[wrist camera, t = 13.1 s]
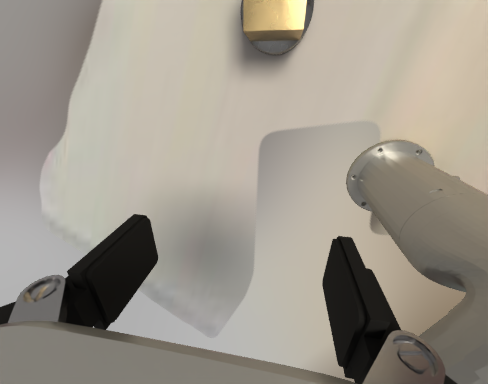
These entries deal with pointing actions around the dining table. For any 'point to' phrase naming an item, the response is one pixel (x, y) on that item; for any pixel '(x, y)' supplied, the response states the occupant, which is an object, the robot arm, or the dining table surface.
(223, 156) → the dining table surface
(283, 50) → the ratchet
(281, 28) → the brass-coloured cube
